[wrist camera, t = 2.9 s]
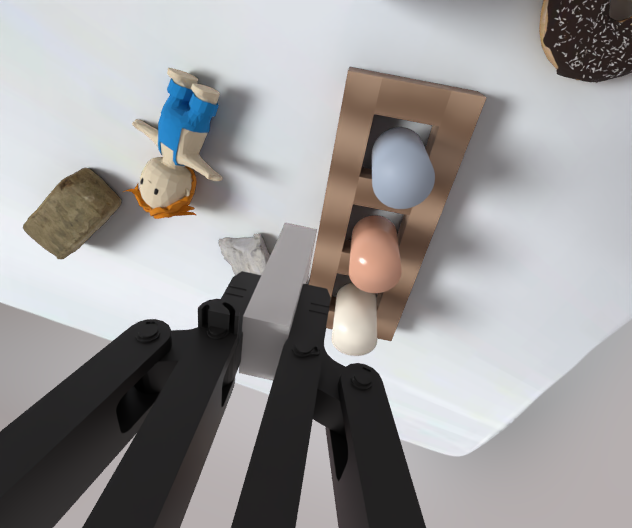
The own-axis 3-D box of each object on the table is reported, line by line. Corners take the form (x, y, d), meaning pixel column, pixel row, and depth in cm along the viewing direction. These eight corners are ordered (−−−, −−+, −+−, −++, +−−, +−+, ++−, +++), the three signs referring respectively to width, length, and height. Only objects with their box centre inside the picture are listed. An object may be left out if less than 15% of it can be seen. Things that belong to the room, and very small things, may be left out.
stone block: (129, 198, 45) (105, 216, 41) (84, 245, 50) (58, 266, 46) (88, 161, 43) (58, 176, 39) (45, 214, 48) (15, 233, 44)
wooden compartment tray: (349, 66, 34) (348, 70, 31) (478, 91, 34) (486, 97, 31) (305, 308, 51) (301, 323, 48) (390, 325, 51) (391, 341, 48)
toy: (226, 110, 31) (178, 250, 38) (264, 115, 36) (215, 237, 43) (127, 45, 33) (98, 188, 40) (176, 59, 39) (143, 183, 45)
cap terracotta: (357, 211, 38) (355, 245, 33) (402, 220, 38) (408, 256, 33) (347, 249, 41) (344, 287, 35) (390, 257, 41) (393, 297, 35)
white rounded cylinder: (340, 279, 43) (336, 319, 38) (380, 287, 43) (382, 328, 38) (333, 309, 46) (328, 350, 40) (370, 316, 46) (370, 359, 40)
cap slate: (378, 122, 33) (380, 144, 28) (431, 132, 33) (444, 157, 27) (366, 172, 36) (365, 202, 30) (414, 182, 36) (423, 214, 30)
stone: (266, 307, 52) (260, 328, 49) (215, 240, 47) (203, 258, 43) (306, 293, 50) (302, 313, 47) (256, 221, 44) (248, 238, 41)
